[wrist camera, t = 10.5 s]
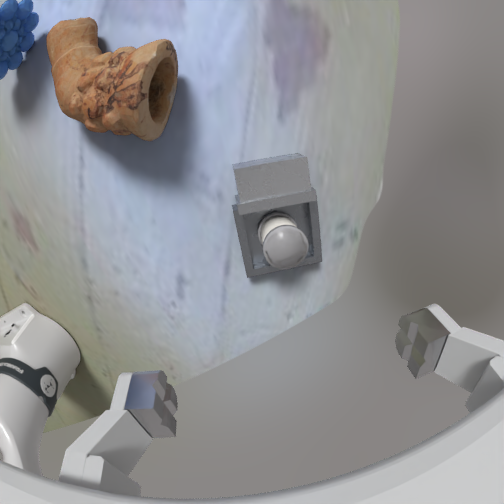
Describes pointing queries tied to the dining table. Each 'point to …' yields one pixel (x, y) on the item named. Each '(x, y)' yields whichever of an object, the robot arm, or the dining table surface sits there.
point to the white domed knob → (282, 240)
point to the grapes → (15, 33)
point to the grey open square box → (274, 206)
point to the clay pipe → (112, 81)
